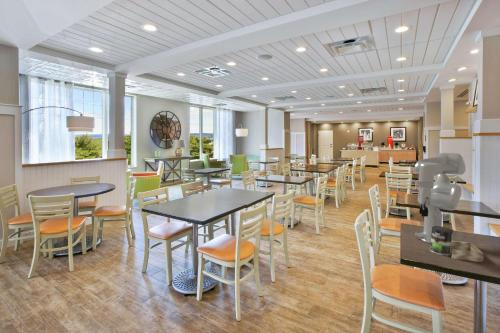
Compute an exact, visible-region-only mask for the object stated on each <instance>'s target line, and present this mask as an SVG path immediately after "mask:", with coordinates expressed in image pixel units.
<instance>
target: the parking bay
mask: <svg viewBox="0 0 500 333" xmlns="http://www.w3.org/2000/svg"><path fill="white" fill-rule="evenodd" d="M484 254H485V253H484V252H482V250H480V249H479V248H478V247H477V246H476V245H474V243H472V242H467V241H457V240H452V246H451V259H455V260H462V261H467V262H468V261H469V262H470V261H471V262H476V263H477V262H478V263H484V256H485V255H484Z"/></svg>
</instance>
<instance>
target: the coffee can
mask: <svg viewBox="0 0 500 333" xmlns="http://www.w3.org/2000/svg"><path fill="white" fill-rule="evenodd" d="M453 232H454V229H452V228H449V227H447V226H446V227H445V226H443V225H442V226H433V227H432V234H431V243H430V248H429V251H430V252H431V253H433V254H436V255H440V256H452V249H451V246H452V241H453V236H454V235H453V234H454V233H453Z"/></svg>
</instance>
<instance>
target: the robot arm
mask: <svg viewBox="0 0 500 333" xmlns="http://www.w3.org/2000/svg"><path fill="white" fill-rule="evenodd" d="M466 168H467V167H466V164H465V160H464V157H463V156H462V155H461V154H460V153H458V152H457V153H454V152H440V153H438V154H436V155H435V156H433V157H428V158H423V159H419V160H418V161H417V162H416V163H415V165H414V172H415V173H416V174H417V175H418V184H417V185H418V192H417V202H418V204H419V211H418V212H419V214H420V215H421V216H422V217H423V218H424V220H423V221H424V222H423V231H421V232H414V236H416V237H419V238H420V240H421V241H422V242H425V243H428V244H431V234H432V227H433V226H442V227H443V214H442V212H441V210H447V211H454V210H456V209H457V207H458V205H459V202H460V199H461V196H462V187H461V185H459V184H458V183H457V184H456V183H451V179H450V178H449V177H448V175H455V176H457V175H458V176H462V175H464V174H465V172H466Z"/></svg>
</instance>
